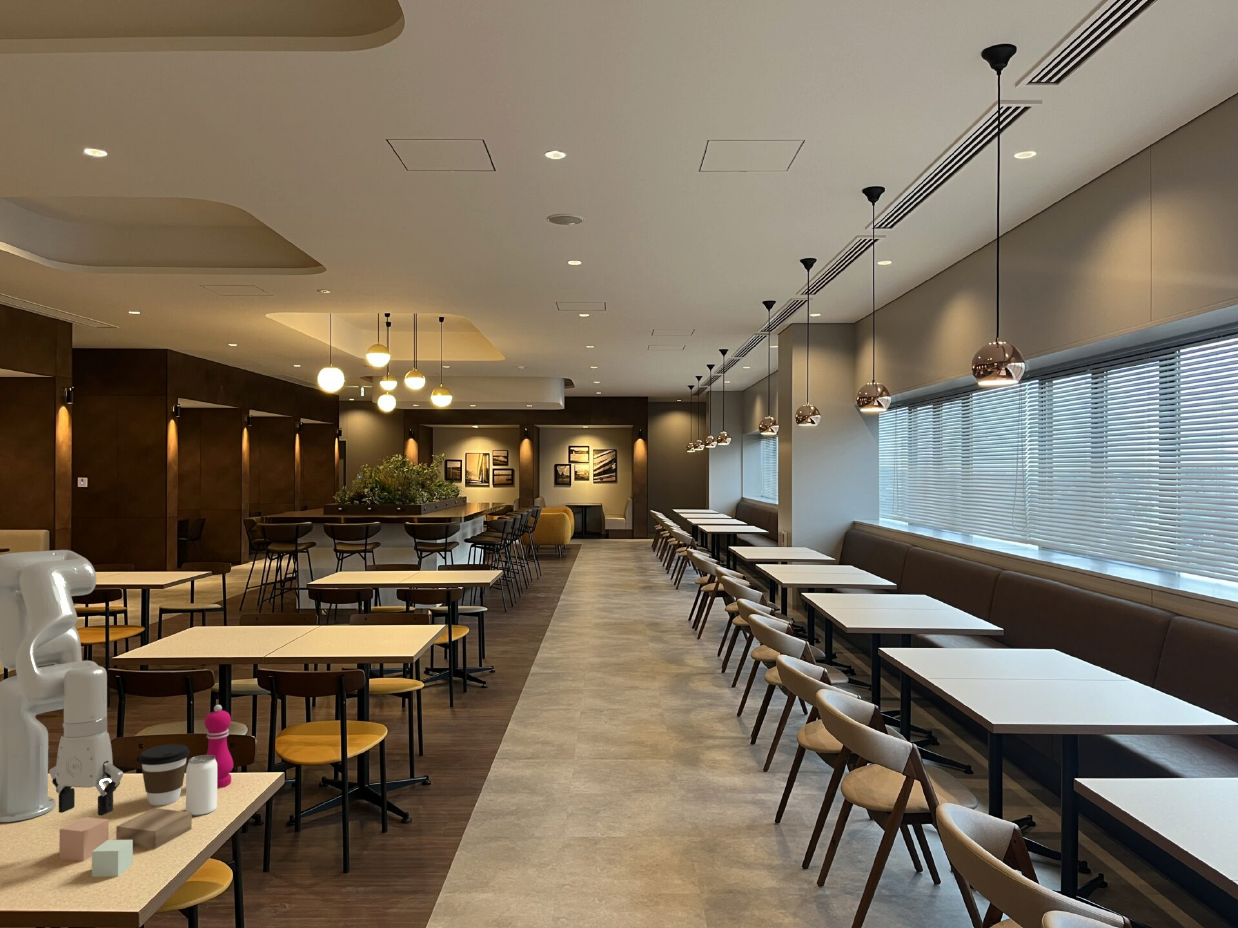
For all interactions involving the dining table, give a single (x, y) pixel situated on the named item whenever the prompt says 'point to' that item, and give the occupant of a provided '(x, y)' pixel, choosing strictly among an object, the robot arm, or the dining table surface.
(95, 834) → the clay cube
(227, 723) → the pepper mill
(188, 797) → the can
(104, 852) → the sage cube
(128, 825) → the walnut block
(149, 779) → the coffee cup
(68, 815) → the dining table surface
